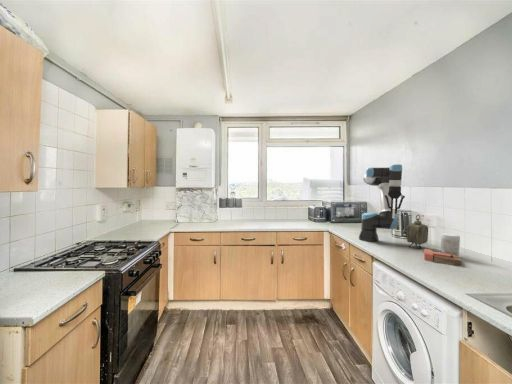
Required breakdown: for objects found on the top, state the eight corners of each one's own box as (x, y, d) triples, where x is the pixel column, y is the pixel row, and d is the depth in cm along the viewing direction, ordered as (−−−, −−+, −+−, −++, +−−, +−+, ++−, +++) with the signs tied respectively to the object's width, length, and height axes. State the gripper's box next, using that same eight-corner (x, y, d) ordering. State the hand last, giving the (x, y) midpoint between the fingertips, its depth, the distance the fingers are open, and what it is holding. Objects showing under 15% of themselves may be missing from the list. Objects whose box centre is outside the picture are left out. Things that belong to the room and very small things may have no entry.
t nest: (432, 255, 154) (432, 251, 154) (457, 259, 147) (457, 254, 146) (433, 261, 142) (434, 256, 142) (461, 266, 135) (461, 261, 135)
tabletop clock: (414, 244, 181) (415, 213, 180) (428, 247, 173) (429, 214, 172) (406, 247, 173) (407, 214, 172) (420, 250, 165) (421, 216, 164)
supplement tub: (442, 252, 161) (443, 232, 160) (460, 256, 153) (461, 234, 153) (438, 255, 154) (439, 234, 154) (457, 259, 147) (458, 236, 146)
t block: (423, 254, 156) (424, 248, 156) (448, 258, 149) (448, 252, 148) (424, 259, 145) (425, 253, 145) (451, 264, 138) (451, 257, 138)
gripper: (384, 185, 165) (382, 218, 167) (405, 186, 158) (404, 220, 160) (384, 185, 171) (383, 216, 173) (405, 185, 164) (403, 218, 166)
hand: (393, 218), depth 166 cm, fingers closed
